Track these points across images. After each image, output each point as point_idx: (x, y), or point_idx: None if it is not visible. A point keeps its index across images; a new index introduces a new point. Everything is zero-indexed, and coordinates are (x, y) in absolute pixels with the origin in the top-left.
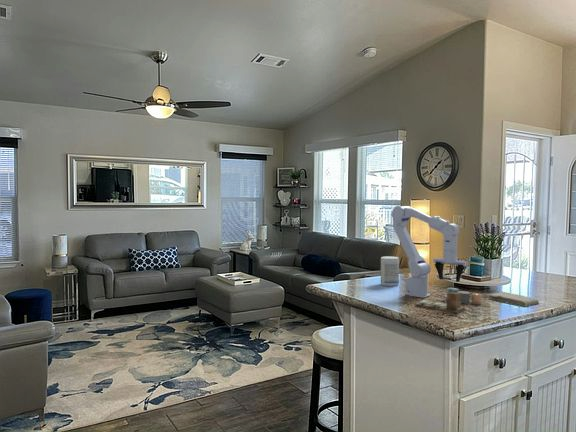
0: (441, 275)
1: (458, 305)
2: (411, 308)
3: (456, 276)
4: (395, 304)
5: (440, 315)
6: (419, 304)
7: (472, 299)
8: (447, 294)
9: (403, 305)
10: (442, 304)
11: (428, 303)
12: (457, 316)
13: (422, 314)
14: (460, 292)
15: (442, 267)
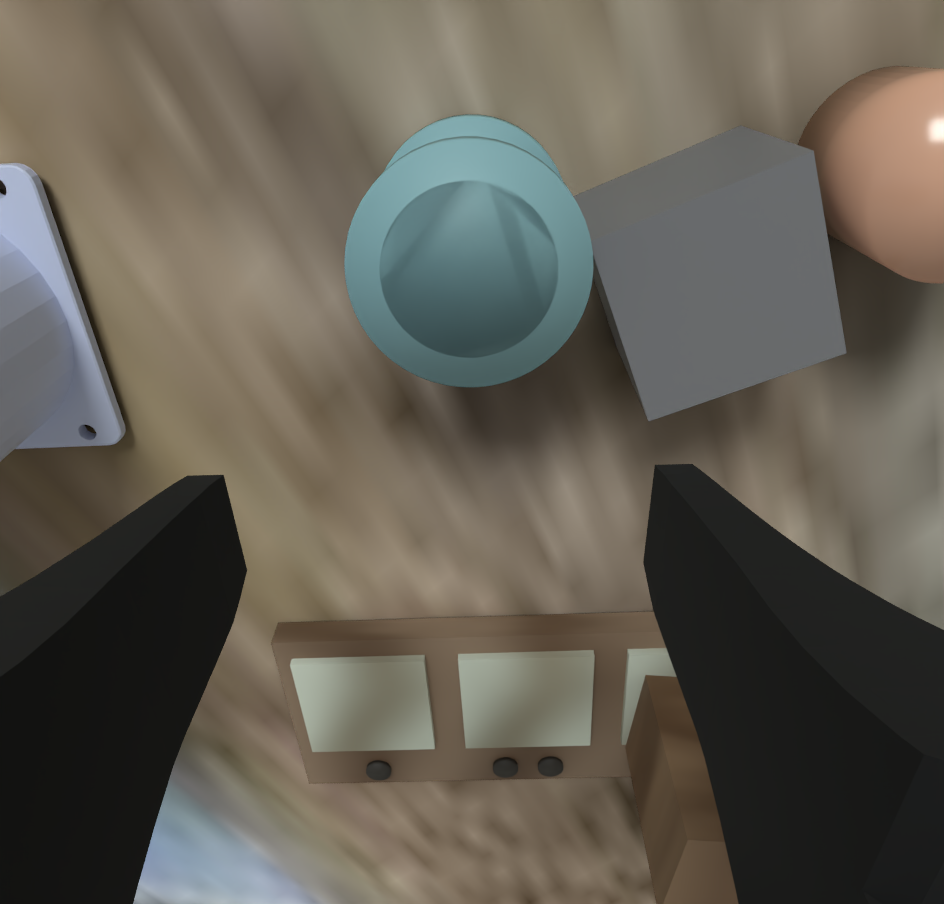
0: (201, 603)
1: None
2: (345, 829)
3: (689, 691)
4: (161, 811)
5: (633, 854)
6: (356, 782)
7: (844, 242)
8: (659, 890)
9: (231, 799)
10: (548, 696)
11: (414, 741)
12: None
13: (509, 895)
14: (665, 350)
15: (41, 758)
